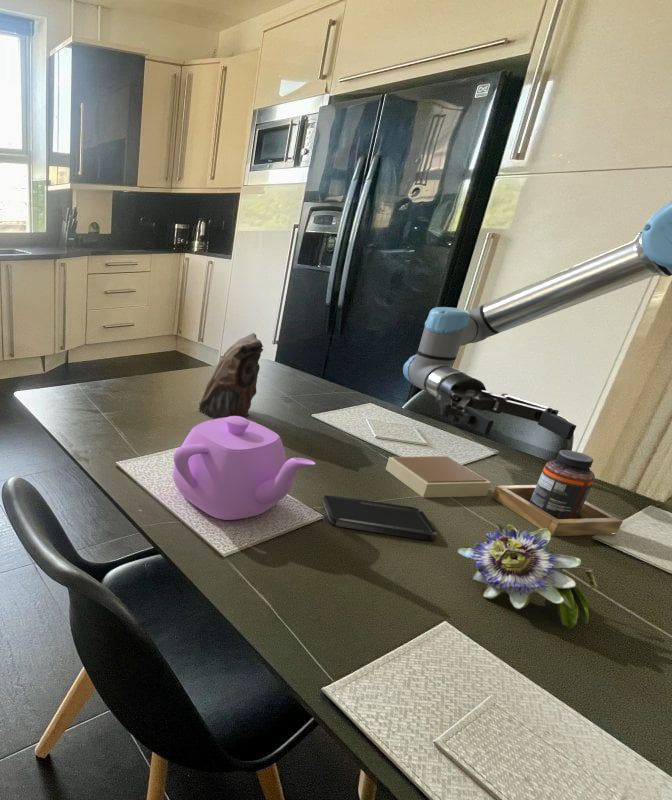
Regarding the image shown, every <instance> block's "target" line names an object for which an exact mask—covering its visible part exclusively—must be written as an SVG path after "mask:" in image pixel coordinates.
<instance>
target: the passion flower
mask: <svg viewBox="0 0 672 800" xmlns="http://www.w3.org/2000/svg"><path fill="white" fill-rule="evenodd" d="M496 525H497V527H498V529H499V530H498V529H495V530H494V532H493V531H489V532H486V533H485V534H484V536H485V538H486V540H485V541H484V542H475V543H474V545H473V546H460V547H457V548H456V552H457V554H458V555H460V556H461V557H464V558H467V559H469V560H472V562H473V565H474V567H475V568H476V571H475V572H474V573H473V575H472V579H471V580H472V581H473V582H476V583H478V584H483V585H484V586H485V587H486V588H485V589H484V591H483V594H482V596H483V598H485V599H487V600H494V599H497V598H499V597H500V596H501V595H503V594H504V593H505V594H507V595H508V596H509V597H508V598H509V602H510V604H511V605H512V606H513V608H515V610H522V609H524V608H526V607H528V605H529V604H530V602H531V600H532V598H533V597H535V596H537V595H538V596H540V597H542V598H543V599H545V600H547V601H548V602H550V603H552V604H555V605H556V609H557V612H558V616H559V619H560V624H561V625H562V626H563V627H565V628H567V629H573V628H574V627H575V626H576V625H577V624H578V619H579V611H580V613H581V615H582V617H583V623H584V624H585V625H587V624H589V619H590V614H589V613H590V609H589V601H588V600H587V597H586V596H585V595H584V594H583V592H581V590H580V589H579V587H577V586H576V585H577V584H576V583H577V582H575V580H574V579H573V578H571V576H569V575H568V574H566V573H564V572H563V569H576V570H585V571H584V573H585V574H586V575H587V577H588V579H589V581H590V582H589V588H591V589H597V588H598V584H597V581H596V577H595V576H594V572H593V569H592V568H588V567H580V566H581V565H582V560H581V558H578V557H576V556H572V555H568V554H564V553H557V552H553V551H547V550H549V549H550V547H547V546H548V545H549V543H550V541H551V538H552V536H551V532H550V531H549V529H548V528H546V529H544V528H543V529H540V528H538V529H536V530H534V531H529V530H523V531H522V530H521V529H519V530H517V528H516V527H515V526H514V525H512V524H506V526H505V528H504V526H503V524H502V523H501V522H497V524H496Z"/></svg>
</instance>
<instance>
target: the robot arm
mask: <svg viewBox="0 0 672 800" xmlns="http://www.w3.org/2000/svg"><path fill="white" fill-rule="evenodd" d="M655 276H660V277H665V278H668V277H671V276H672V201H670V202H668V203H666V204H665V205H663V206H662V207H661V208H659V209H658V210H657V211H655V212H654V213H653V215H652V216H651V217H650V218H649V219H648V220H647V222H646V224H645V225H644V227H643V229H642V231H640V232H638V234H637V235H636V237H635V238H634V239H633V241H630V242H627V243H626V244H624V245H621V246H618V247H616V248H614V249H611V250H609V251H607V252H604V253H602V254H599V255H598V256H594V257H592V258H590V259H588V260H586V261H583V262H581V263H579V264H576V265H573V266H571V267H569V268H566V269H564V270H562V271H560V272H557V273H555V274H552V275H550V276H548V277H545V278H543V279H540V280H539V281H536V282H534V283H531V284H529V285H526V286H524V287H522V288H519V289H516V290H515V291H512V292H510V293H507V294H505V295H503V296H501V297H498V298H496V299H493V300H491V301H489V302H487V303H484V304H482V305H479V306H477V307H474V308H472V309H469V310H466V309H463V308H458V307H451V306H449V307H448V306H436V307H433V308H432V309H431V310H429V313H428V316H427V319H426V320H425V322H424V327H423V332H422V335H421V338H420V342H419V345H418V346H419V347H418V349H417V352H416V354H413V355H412V356H410V357H409V358H408V359H407V360H406V362H405V363H403V367H402V373H403V376H404V377H405V379H406V380H407V381H408V382H410V383H411V384H412V385H413V386H414V387H417V388H418V389H421V390H422V391H424V392H426V393H427V394H429V395H430V396H432V397H434V398H435V400H434V402H436V403H437V404H438V405H439V412H440V415H441V416H442V417H445V418H448V417H449V416H452V418H451V421H452V422H454V423H460V421H463V422H464V423H466V424H467V425H469V426H471V428H473V429H475V430H477V431H479V432H480V433H481V434H483V435H487V436H489V435H490V433H491V430H492V427H493V425H494V422H495V421H494V420H493V419H492V418H490V417H488V416H486V415H485V414H483V413H481V412H479V411H487V412H489V413H492V414H497V415H500V414H502V413H503V414H507V415H510V416H514V417H517V418H521V419H525V420H528V421H532V422H536V423H537V425H538V426H540V427H542V428H544V429H546V430H548V431H549V432H551V433H553V434H555V435H557V436H559V437H560V438H563V439H564V440H571V439H572V437H573V435H574V432H575V431H576V429H577V425H576V424H574V423H572V422H570V421H568V420H566V419H564V418H562V417H559V416H558V414H559V410H558V409H556V408H553V407H552V406H545V405H543V404H539V403H537V402H532V401H529V400H525V399H524V398H523V399H522V398H520V397H516V396H513V395H512V394H509V393H507V392H503V393H501V395H499V394H496V393H493V392H492V391H489V390H487V388H486V386H485V384H484V383H483V382H482V380H480V379H478V378H477V377H474V376H472V375H470V374H468V373H466V372H465V371H462V370H461V369H458V368H456V367H454V366H455V363H456V359H457V357H458V354H459V351H460V349H461V348H460V347H461V346H467V345H468V344H476V343H478V342H482V341H484V340H486V339H488V338H491V337H492V336H495V335H498V334H500V333H503V332H506V331H509V330H511V329H513V328H516V327H519V326H522V325H524V324H527V323H531V322H532V321H535V320H538V319H541V318H544V317H547V316H549V315H553V314H555V313H557V312H560V311H563V310H566V309H568V308H571V307H574V306H576V305H579V304H582V303H585V302H587V301H589V300H593V299H595V298H598V297H601V296H604V295H606V294H609V293H611V292H614V291H617V290H620V289H623V288H625V287H628V286H632V285H633V284H636V283H638V282H641V281H644V280H647V279H650V278H653V277H655ZM496 404H497V408H496V407H495V406H496ZM478 410H479V411H478Z"/></svg>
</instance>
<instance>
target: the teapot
mask: <svg viewBox="0 0 672 800" xmlns="http://www.w3.org/2000/svg"><path fill="white" fill-rule="evenodd" d="M283 444H284V443H283V442H282V439H281V437H280V435H279V434H278V433H276V432H275V431H273V430H272V429H270V428H268V427H266V426H264V425H262V424H259V423H257V422H255V421H253V420H251V419H248V418H247V419H246V418H243V417H240V416H230V417H225V418H218V419H214V418H212V419H208V420H205V421H203V422H200V423H198V424H196V425H194V426H193V427H192V428H191V430H190V431H189V433H188V435H187V436H186V437H185V439H184V441H183V443H182V444H181V446H179V447H177V448H176V449H175V450H174V453H173V455H172V456H173V457H172V458H173V463H174V464H173V468H172V469H173V470H172V479H173V482H174V484H175V486H176V488H177V490H178V492H179V493H180V494H181V495H182V496H183V497H184V498H185V499H186V500H187V501H189V502H190V503H191V504H192V505H194V506H195V507H197V508H198V509H199V510H201V511H202V512H204V513H206V514H207V515H208V516H211V517H213V518H215V519H219V520H225V521H226V520H227V521H231V520H232V521H233V520H243V519H247V518H252V517H256V516H259V515H261V514H263V513H265V512H267V511H268V510H270V509H271V508H273V507H274V506H275V505H276V504H278V503H279V502H280V501H281V500H283V499H284V498H285V497H286V496H287V495H289V492H290V491H291V489H292V486H293V484H294V480H295V478H296V475H297V473H298V472H299V471H300V469H301V468H304V467H309V466H314V465H316V462H315V461H313V460H311V459H308V458H305V457H291V458H289V459H287V456H286V452H285V448H284V445H283Z"/></svg>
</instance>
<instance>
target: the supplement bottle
mask: <svg viewBox="0 0 672 800" xmlns="http://www.w3.org/2000/svg"><path fill="white" fill-rule="evenodd" d="M593 463H594V458H593V457H591V456H589V455H587V454H585V453H582V452H578V451H576V450H575V451H574V450H569V449H561V450H559V451H558V453H557V456H556V457H555V459H553V460H550V461H548V462H546V463H545V465H544V466H543V469H542V471H541V473H540V476H539V478H538V481H537V484H536V485H537V486H536V488H535V491H534V493H533V495H532V498H531V500H529V502H530V503H531V504H533V505H535V506H536V507H538V508H540V509H541V510H543V511H545V512H546V513H548V514H550V515H551V516H553V517H555V518H556V519H578V518H579V516H578V515H579V513H580V511H581V508H582V506H583V504H584V502H585V501H586V500H587V497H588V496H589V494H590V491H591V488H592V487H593V484H594V481H595V480H596V479H595V478H596V475H595V473H594V472H593V471H592V470H591V468H592V465H593Z"/></svg>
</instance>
